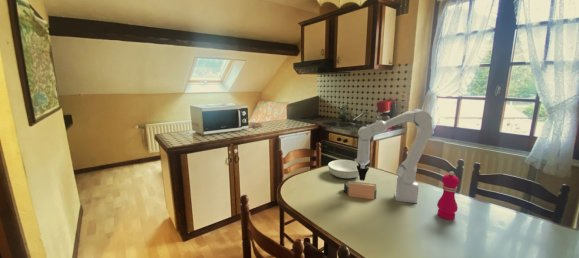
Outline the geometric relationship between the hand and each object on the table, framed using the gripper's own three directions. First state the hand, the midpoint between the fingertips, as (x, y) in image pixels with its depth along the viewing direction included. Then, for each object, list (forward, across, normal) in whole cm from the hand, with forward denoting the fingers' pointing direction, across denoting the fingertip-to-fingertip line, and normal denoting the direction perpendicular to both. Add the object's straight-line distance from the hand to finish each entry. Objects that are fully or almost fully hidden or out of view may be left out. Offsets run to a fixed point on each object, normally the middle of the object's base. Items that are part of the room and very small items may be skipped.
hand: (362, 177), depth 120 cm
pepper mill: (+10, +10, +35) cm, 38 cm away
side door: (+9, +4, 0) cm, 10 cm away
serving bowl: (+10, -24, -10) cm, 28 cm away
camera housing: (+9, -2, 0) cm, 10 cm away
